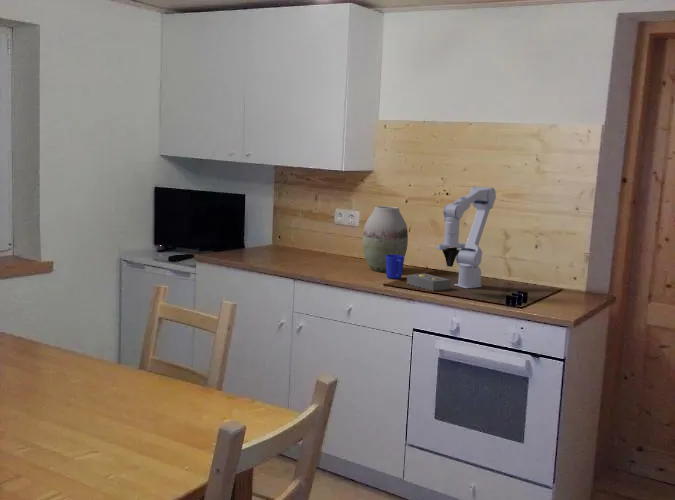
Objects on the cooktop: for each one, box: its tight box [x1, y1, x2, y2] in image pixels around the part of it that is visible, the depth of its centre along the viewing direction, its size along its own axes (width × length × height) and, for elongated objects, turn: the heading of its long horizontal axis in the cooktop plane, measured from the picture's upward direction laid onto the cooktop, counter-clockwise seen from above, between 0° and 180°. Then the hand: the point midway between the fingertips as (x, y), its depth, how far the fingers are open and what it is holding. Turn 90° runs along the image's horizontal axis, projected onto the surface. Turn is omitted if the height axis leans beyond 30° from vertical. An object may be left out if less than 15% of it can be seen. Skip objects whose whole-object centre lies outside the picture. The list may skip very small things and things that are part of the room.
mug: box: [385, 255, 405, 280], centre depth 324 cm, size 8×12×10 cm
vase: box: [362, 205, 409, 273], centre depth 344 cm, size 21×21×30 cm
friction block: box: [406, 272, 452, 292], centre depth 309 cm, size 10×16×4 cm, turn 37°
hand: (449, 266), depth 300 cm, fingers closed
